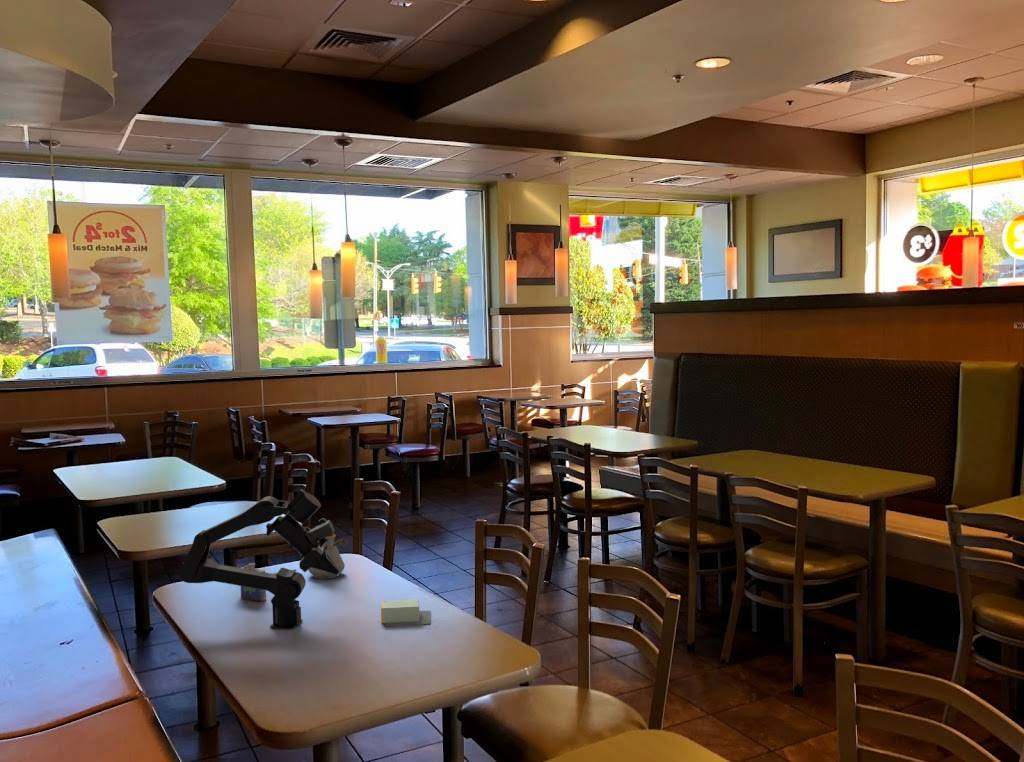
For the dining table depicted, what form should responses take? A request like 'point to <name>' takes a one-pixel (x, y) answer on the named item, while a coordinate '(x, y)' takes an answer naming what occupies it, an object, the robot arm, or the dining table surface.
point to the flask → (253, 589)
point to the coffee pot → (334, 556)
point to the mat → (423, 619)
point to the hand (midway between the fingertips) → (338, 572)
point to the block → (400, 611)
